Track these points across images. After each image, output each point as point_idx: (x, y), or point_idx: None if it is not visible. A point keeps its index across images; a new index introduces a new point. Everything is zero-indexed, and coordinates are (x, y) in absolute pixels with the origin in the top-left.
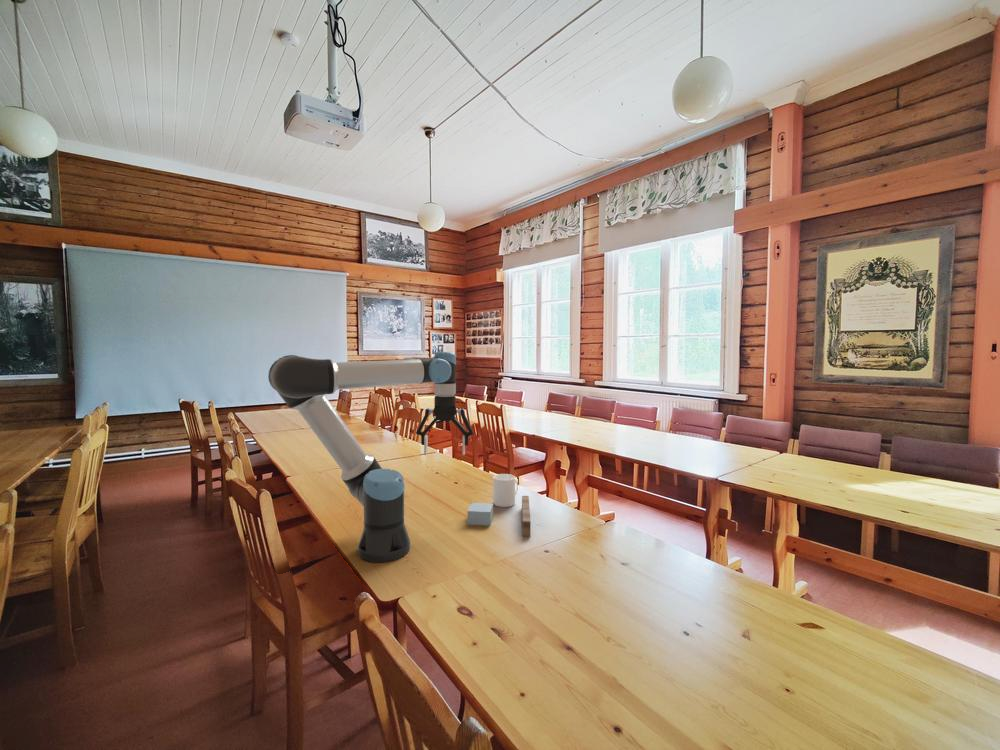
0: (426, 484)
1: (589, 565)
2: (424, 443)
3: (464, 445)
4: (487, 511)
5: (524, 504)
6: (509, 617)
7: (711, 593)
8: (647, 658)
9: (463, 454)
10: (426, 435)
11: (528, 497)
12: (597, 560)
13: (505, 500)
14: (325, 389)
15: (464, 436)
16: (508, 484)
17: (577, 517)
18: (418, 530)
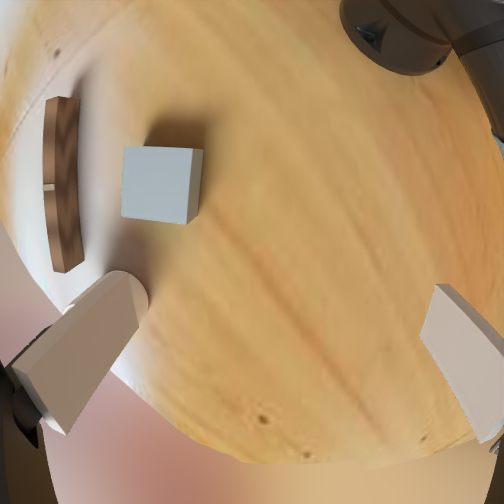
0: (333, 411)
1: (25, 36)
2: (498, 336)
3: (66, 312)
4: (132, 150)
5: (52, 208)
6: None
7: None
8: None
9: (118, 274)
10: (493, 431)
11: (51, 259)
12: (13, 54)
13: (107, 276)
14: None
15: (31, 397)
16: (77, 298)
17: (7, 212)
18: (343, 113)
